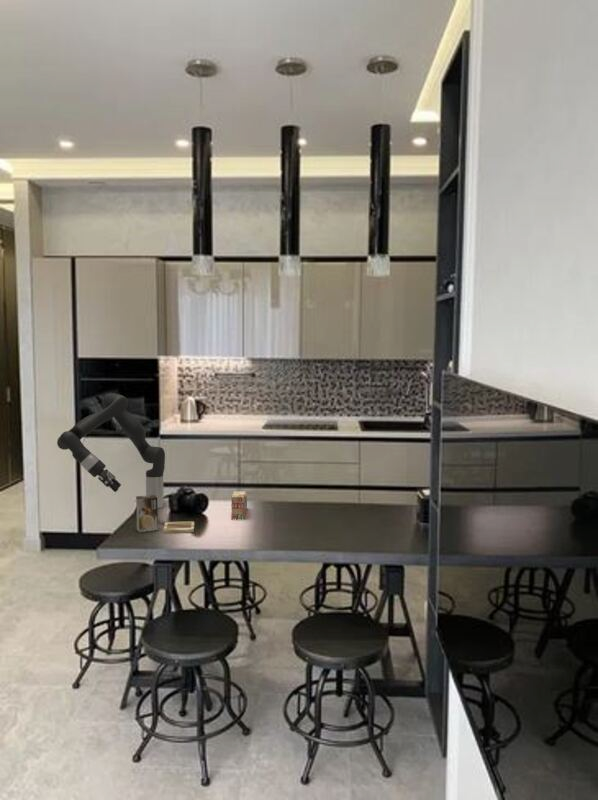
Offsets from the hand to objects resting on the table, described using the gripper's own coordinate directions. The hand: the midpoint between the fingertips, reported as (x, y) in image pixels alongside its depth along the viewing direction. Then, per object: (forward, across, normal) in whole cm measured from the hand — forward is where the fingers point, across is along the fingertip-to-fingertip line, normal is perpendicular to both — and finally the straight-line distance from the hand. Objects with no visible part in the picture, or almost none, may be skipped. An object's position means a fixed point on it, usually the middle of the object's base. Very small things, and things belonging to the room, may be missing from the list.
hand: (118, 488), depth 290 cm
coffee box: (+24, 0, +5) cm, 24 cm away
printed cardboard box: (+56, +23, -27) cm, 66 cm away
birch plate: (+34, 0, -6) cm, 35 cm away
